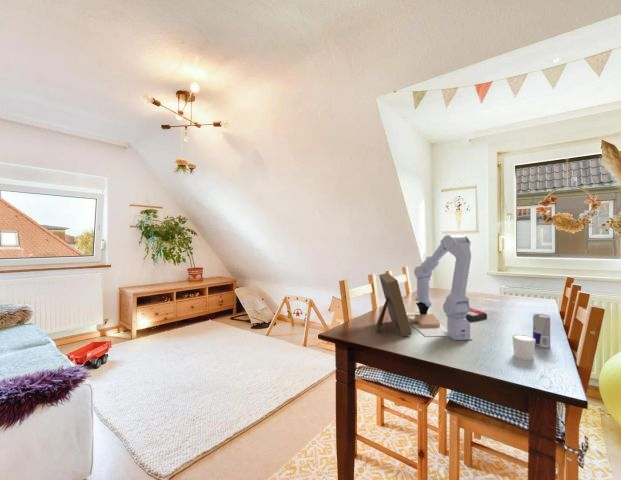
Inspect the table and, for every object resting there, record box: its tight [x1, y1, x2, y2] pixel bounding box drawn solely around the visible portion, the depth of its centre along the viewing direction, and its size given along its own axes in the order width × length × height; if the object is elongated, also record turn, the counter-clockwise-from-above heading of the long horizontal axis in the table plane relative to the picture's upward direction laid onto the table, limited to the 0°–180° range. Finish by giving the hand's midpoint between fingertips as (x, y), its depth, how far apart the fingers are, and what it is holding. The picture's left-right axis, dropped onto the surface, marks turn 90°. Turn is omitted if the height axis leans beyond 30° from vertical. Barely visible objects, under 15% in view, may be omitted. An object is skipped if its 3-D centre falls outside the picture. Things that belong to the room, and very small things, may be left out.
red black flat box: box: [466, 307, 488, 323], centre depth 154 cm, size 11×4×15 cm
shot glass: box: [511, 334, 536, 361], centre depth 105 cm, size 7×7×7 cm
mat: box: [411, 323, 449, 338], centre depth 134 cm, size 16×14×1 cm
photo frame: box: [375, 272, 413, 338], centre depth 137 cm, size 15×22×25 cm
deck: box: [406, 311, 440, 325], centre depth 150 cm, size 15×13×2 cm
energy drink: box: [532, 313, 551, 349], centre depth 114 cm, size 5×5×12 cm
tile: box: [415, 313, 441, 328], centre depth 141 cm, size 8×9×2 cm
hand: (423, 317), depth 145 cm, fingers closed
